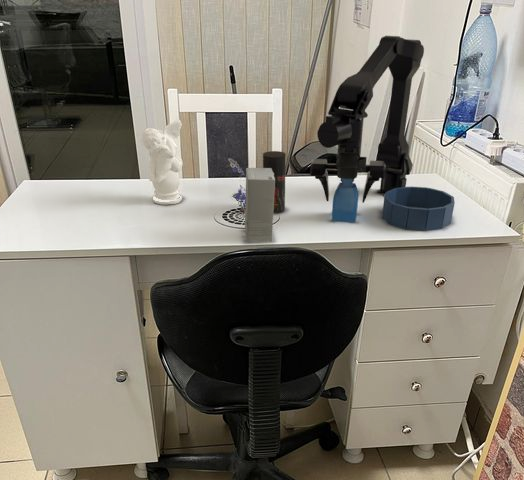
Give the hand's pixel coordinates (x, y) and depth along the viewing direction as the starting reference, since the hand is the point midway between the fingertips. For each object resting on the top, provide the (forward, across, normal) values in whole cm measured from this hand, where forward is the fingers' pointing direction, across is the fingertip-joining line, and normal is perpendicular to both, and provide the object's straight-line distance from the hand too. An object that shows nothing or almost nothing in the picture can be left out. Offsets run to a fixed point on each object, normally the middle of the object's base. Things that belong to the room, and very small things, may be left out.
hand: (345, 201), depth 142 cm
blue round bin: (+4, +19, +3) cm, 20 cm away
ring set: (+5, -30, +13) cm, 33 cm away
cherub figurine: (+5, -52, +10) cm, 53 cm away
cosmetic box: (+5, -20, -15) cm, 26 cm away
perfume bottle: (+5, 0, 0) cm, 5 cm away
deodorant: (+5, -19, +4) cm, 20 cm away
